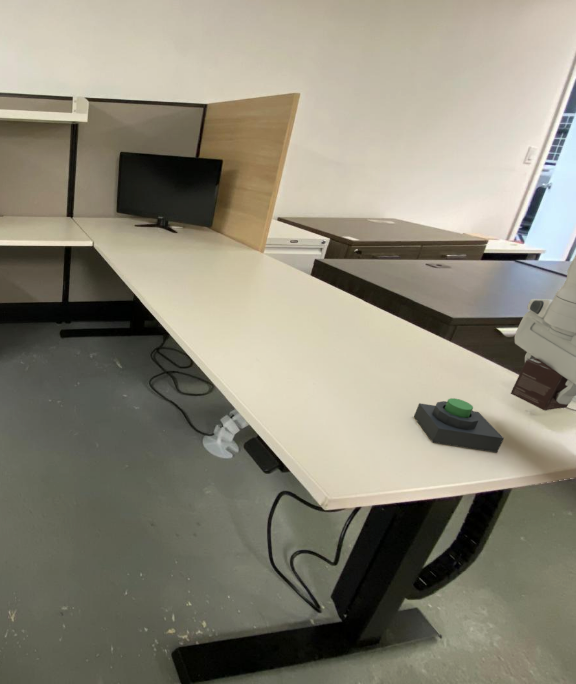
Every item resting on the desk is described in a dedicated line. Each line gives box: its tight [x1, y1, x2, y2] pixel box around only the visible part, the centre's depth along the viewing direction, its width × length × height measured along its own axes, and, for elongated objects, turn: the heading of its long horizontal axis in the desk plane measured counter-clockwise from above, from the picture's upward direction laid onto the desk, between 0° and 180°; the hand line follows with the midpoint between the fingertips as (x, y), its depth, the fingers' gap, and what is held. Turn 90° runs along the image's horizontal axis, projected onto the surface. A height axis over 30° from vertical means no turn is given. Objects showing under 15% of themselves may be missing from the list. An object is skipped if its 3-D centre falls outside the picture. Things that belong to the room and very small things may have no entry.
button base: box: [413, 400, 505, 453], centre depth 89 cm, size 11×9×5 cm
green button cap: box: [444, 397, 474, 418], centre depth 88 cm, size 4×4×2 cm
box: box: [510, 359, 569, 411], centre depth 83 cm, size 6×6×7 cm
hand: (543, 389), depth 84 cm, fingers closed on box, 7 cm apart
